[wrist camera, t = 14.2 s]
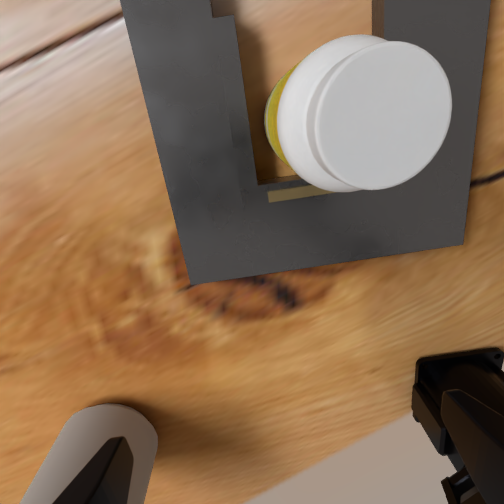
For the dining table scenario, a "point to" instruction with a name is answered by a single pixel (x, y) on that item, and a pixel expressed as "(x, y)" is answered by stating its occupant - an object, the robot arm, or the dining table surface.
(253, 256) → the keyhole plate
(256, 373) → the dining table surface
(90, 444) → the can
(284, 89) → the supplement bottle
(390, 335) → the dining table surface
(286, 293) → the dining table surface
